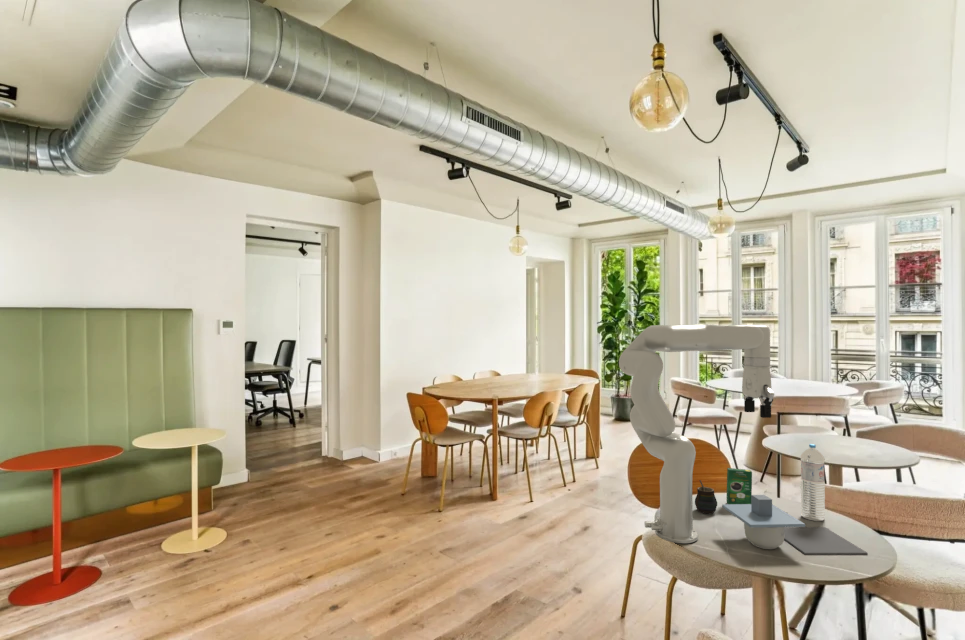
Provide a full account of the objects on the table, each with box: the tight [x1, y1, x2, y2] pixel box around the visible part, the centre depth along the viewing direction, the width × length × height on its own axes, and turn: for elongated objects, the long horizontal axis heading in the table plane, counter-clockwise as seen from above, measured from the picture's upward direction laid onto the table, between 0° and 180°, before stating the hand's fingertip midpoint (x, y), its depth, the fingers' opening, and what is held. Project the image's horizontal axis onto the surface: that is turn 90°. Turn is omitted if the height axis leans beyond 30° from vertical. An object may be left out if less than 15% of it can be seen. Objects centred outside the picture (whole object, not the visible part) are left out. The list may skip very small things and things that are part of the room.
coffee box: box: [726, 467, 753, 504], centre depth 183 cm, size 8×3×13 cm, turn 75°
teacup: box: [743, 522, 785, 550], centre depth 152 cm, size 14×11×8 cm
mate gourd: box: [694, 479, 718, 515], centre depth 177 cm, size 7×8×10 cm
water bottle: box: [800, 443, 826, 522], centre depth 171 cm, size 7×7×25 cm
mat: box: [784, 526, 868, 556], centre depth 153 cm, size 18×18×1 cm
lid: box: [721, 494, 806, 528], centre depth 152 cm, size 16×16×6 cm
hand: (757, 414), depth 165 cm, fingers open, 9 cm apart
